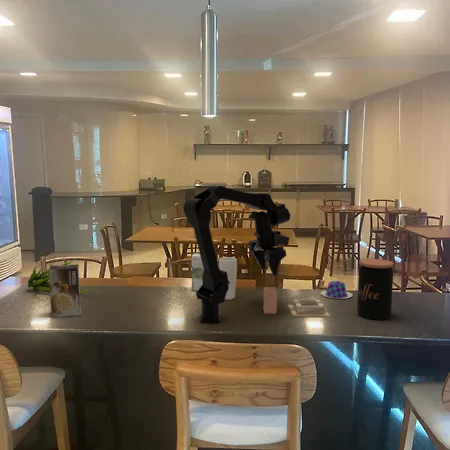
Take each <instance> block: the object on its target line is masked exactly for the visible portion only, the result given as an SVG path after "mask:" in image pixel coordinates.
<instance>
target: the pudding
mask: <svg viewBox="0 0 450 450" xmlns="http://www.w3.org/2000/svg"><path fill="white" fill-rule="evenodd" d="M320 295H321V296H323V297H326V298H330V299H342V300H343V299H349V298H351V297H353V296H354V295H353V293H351V292H349V291H347V289H346V284H345V283H344V282H342V281H337V280H332V281H330V282H328V285H327V288H326V289H325V290H322V291H321V292H320Z"/></svg>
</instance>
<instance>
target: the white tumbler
mask: <svg viewBox="0 0 450 450" xmlns="http://www.w3.org/2000/svg"><path fill="white" fill-rule="evenodd" d="M218 266H219V269H220V270H222V271H225V272H227V275H228V281H229V282H230V284H228V285H229V290H228V291H227V293H226V297H225V300H226V301H227V300H229V301H231V300H234V299H235V298H236V285H237V272H238V259H237V258H236V257H229V256H228V257H227V256H224V257H220V258H219V259H218ZM225 300H224V301H225Z"/></svg>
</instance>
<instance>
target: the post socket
mask: <svg viewBox="0 0 450 450" xmlns="http://www.w3.org/2000/svg"><path fill="white" fill-rule="evenodd" d="M287 307H289V308H288V309H290V310H289V311H290V313H291V315H292V317H293V318H331V314H329V312H328V311H327V310H326V307H325V305H324V304H323V302H321V300H320V299H319V298H317V299H316V298H293V299H292V304H287Z"/></svg>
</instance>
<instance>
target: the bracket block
mask: <svg viewBox="0 0 450 450" xmlns="http://www.w3.org/2000/svg"><path fill="white" fill-rule="evenodd" d="M277 302H278V290H277V287H276V286H263V313H264V314H269V315H271V314H273V315H274V314H277V313H278V310H277V309H278V308H277V306H278V303H277Z"/></svg>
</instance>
